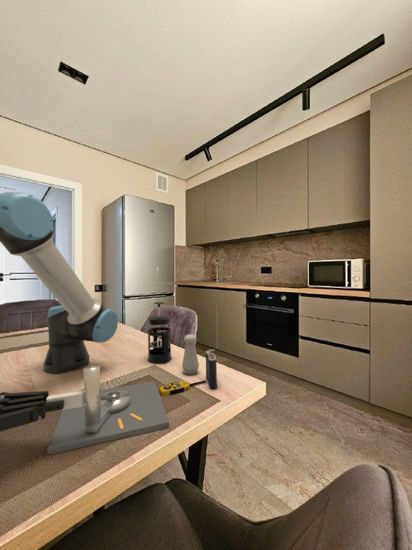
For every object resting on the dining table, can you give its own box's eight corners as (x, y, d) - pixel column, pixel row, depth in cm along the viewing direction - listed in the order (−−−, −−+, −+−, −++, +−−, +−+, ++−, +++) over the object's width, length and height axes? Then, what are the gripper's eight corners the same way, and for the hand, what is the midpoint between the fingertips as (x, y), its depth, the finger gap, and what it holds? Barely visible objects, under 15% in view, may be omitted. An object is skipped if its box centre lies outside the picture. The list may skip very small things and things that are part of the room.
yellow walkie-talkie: (157, 384, 74) (202, 374, 80) (157, 391, 74) (202, 380, 81) (162, 392, 69) (209, 380, 76) (162, 398, 70) (209, 386, 76)
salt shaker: (196, 376, 83) (196, 338, 82) (180, 375, 84) (179, 337, 83) (200, 369, 88) (200, 333, 88) (185, 368, 90) (184, 333, 89)
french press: (143, 357, 101) (142, 301, 100) (165, 353, 106) (164, 300, 105) (154, 367, 91) (153, 305, 90) (177, 361, 96) (176, 303, 96)
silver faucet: (106, 395, 68) (105, 346, 67) (134, 396, 67) (133, 347, 67) (70, 433, 52) (69, 370, 52) (107, 435, 52) (106, 370, 51)
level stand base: (68, 399, 69) (68, 394, 69) (155, 384, 77) (155, 380, 77) (47, 455, 48) (47, 448, 48) (169, 427, 56) (169, 421, 56)
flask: (205, 376, 82) (205, 345, 82) (213, 376, 83) (213, 344, 83) (209, 390, 73) (209, 354, 73) (219, 389, 74) (219, 354, 73)
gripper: (-40, 421, 51) (87, 400, 58) (-91, 470, 38) (78, 435, 46) (-41, 385, 50) (86, 369, 58) (-93, 423, 38) (77, 395, 46)
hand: (82, 398), depth 52 cm, fingers closed
